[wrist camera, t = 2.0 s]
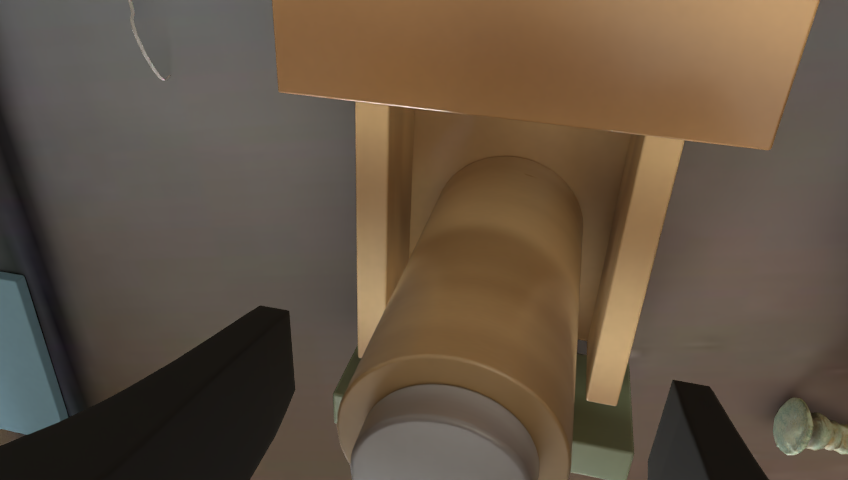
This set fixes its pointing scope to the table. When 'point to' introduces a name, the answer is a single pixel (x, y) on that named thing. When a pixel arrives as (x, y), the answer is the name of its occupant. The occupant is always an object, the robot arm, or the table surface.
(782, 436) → the soupspoon
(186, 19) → the table surface
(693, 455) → the robot arm
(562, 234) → the pepper mill
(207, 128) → the table surface
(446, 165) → the drawer
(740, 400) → the table surface
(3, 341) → the mat
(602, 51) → the brown cardboard box
